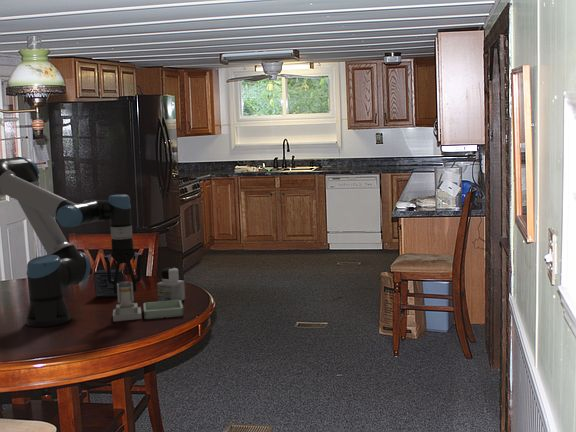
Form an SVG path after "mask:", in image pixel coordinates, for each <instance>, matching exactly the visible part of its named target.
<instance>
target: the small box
mask: <svg viewBox="0 0 576 432" xmlns="http://www.w3.org/2000/svg"><path fill="white" fill-rule="evenodd" d="M114 276H115V269H111V277H112V280H114ZM93 277H94V278H93V279H94V292H95V299H96V298H98V299H99V298H101V299H102V298H118V295H117V293H114V285H113V284H111V283H108V274H107V269H102V270H101V269H100V270H97V271H95V272H93ZM119 282H124V271H123V269H119V273H118V279H117V283H119Z"/></svg>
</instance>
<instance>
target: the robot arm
mask: <svg viewBox="0 0 576 432" xmlns="http://www.w3.org/2000/svg"><path fill="white" fill-rule="evenodd" d="M39 180H40V170H39V168H38V165H37V164H36V163H35V161H34V160H32V159H30V158H29V157H23V156H14V157H10V158H9V157H8V158H7V157H6V158H0V196H2V197H6V196H8V197H10V198H11V199H14V200H16V201H17V202H18V204H19V206H20V207H21V209H22V211H23V213H24V215H25V216H26V218H27V220H28V222H29V224H30V225H31V227H32V229H33V231H34V233H35V234H36V236H37V239H38V240H39V242H40V243H41V246H42V247H43V249H44V250H45V252H46V255H42V256H37V257H34V258H32V259H31V260H29V261H28V262H27V264H26V276H27V277H26V278H27V284H28V285H27V286H28V288H27V289H28V295H29V296H28V297H29V304H28V309H27V312H26V317H25V323H26V325H27V326H28V327H32V328H48V327H54V326H58V325H59V326H60V325H63V324H65V323H68V322H69V321H70V320H71V314H70V311H69V309H68V306H67V305H66V302H65V298H64V290H63V289H65V288H68V287H70V286H74V285H79V284H80V283H81V282H84V281H85V280H87V278H88V277H89V275H90V271H91V268H92V267H91V260H90V258H89V256H88V255H87V254H86V253H85V252H82V251H80V250H78V249H77V248H76V246H75V244H73V243H69V242H68V240H67V238H66V237H65V235H64V233H63V232H62V229H61V228H60V226H61V227H64V228H75V227H78V226H81V225H82V226H83V225H85V224H86V225H87V224H90V223H95V222H105V221H106V222H109V225H110V226H109V227H110V237H111V240H110V242H111V252H110V254H107V255H105V256H104V261H105V263H106V264H105V265H106V270H107V274H108V283H111V284H113V285H114V293H117V295H118V297H117V304H120V291H119V283H117V279H118V273H119V270H120V265H122V264H126V265H127V268H128V271H129V275H130V278H131V281H130V282H131V301H132V302H134V301H135V300H134V299H135V298H134V292H137V283H138V282H141V280H142V276H141V260H142V253H140V252H139V253H138V252H135V250H134V242H133V241H134V240H133V239H134V238H133V237H132V236H133V225H132V206H131V198H130V196H129V195H128V194H126V193H125V194H122V193H121V194H111V195H109V196H108V199H107V200H103V199H88V200H87V199H86V200H83V201H82V202H79V203H76V202H73V201H71V200H68V199H66V198H64V197H62V196H60V195H58V194H55V193H53V192H51V191H49V190H47V189H44V188H42V187H41V186H40V185H41V184H40V181H39ZM58 223H59V224H58ZM59 225H60V226H59ZM133 258H135V259H136V276H135V273H134V269H133V266H132V262H131V261H132V260H133ZM112 259H113V260H114V261H115V262H116V263H115V269H114V270H115V276H114V280H112V277H111V270H112V269H111V261H112Z"/></svg>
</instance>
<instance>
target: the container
mask: <svg viewBox="0 0 576 432" xmlns="http://www.w3.org/2000/svg"><path fill="white" fill-rule="evenodd" d="M179 278H180V277H179V269H178V268H176V267H165V268H163V269H162V270H161V281H160V282H157V283H156V288H157V289H156V291H157V302H159V301H170V300H181V302H182V301H185V299H186V293H185V291H186V290H185V281H184V280H181V279H179Z"/></svg>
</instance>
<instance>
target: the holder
mask: <svg viewBox="0 0 576 432" xmlns="http://www.w3.org/2000/svg"><path fill="white" fill-rule="evenodd" d="M120 306H121V305H120V303H117V304H116V305H115V308H114V309H113V310H112V321H113V322H123V321H134V320H142V319H143V318H142V307H141V306H138V302H132V307H129V308H120Z"/></svg>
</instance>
